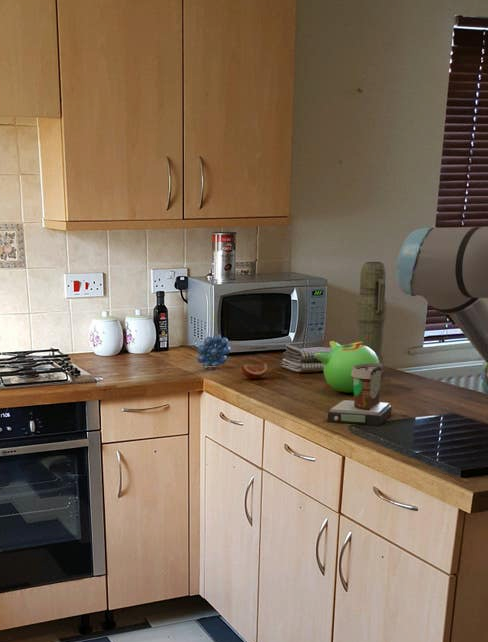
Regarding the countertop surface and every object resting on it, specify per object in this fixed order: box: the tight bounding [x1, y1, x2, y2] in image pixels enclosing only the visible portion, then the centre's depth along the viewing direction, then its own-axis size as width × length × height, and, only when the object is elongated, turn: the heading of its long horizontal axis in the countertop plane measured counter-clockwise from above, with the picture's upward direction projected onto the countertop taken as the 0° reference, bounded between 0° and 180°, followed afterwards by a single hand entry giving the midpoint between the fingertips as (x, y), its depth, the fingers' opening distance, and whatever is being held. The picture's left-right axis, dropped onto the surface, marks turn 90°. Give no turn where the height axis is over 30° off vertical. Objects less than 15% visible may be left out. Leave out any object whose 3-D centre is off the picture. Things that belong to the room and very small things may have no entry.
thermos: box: [356, 261, 387, 378], centre depth 274 cm, size 9×12×35 cm
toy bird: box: [314, 340, 379, 394], centre depth 253 cm, size 18×17×15 cm
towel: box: [280, 343, 332, 374], centre depth 295 cm, size 15×18×8 cm
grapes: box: [196, 333, 231, 370], centre depth 301 cm, size 12×7×12 cm, turn 101°
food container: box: [351, 363, 383, 410], centre depth 219 cm, size 12×6×10 cm, turn 153°
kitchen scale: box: [327, 399, 393, 426], centre depth 221 cm, size 14×13×3 cm
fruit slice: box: [241, 362, 269, 380], centre depth 280 cm, size 8×7×5 cm
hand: (453, 317), depth 195 cm, fingers open, 13 cm apart
